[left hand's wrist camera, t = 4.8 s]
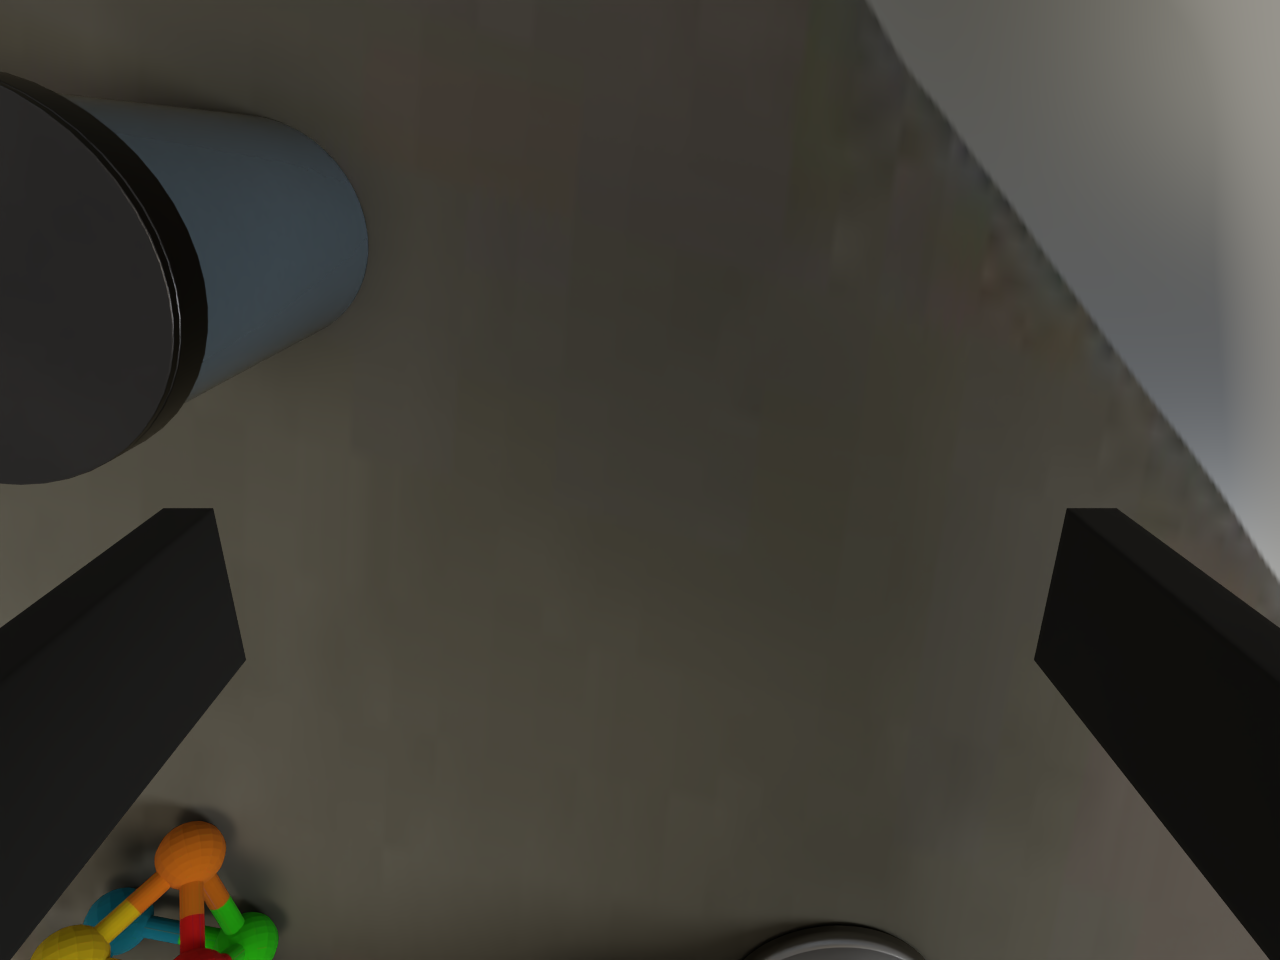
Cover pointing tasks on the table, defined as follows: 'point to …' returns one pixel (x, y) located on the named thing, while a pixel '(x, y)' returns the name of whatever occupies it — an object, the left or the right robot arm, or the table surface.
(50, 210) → the lid
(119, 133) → the screw-top jar
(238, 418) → the table surface
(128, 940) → the molecular model
